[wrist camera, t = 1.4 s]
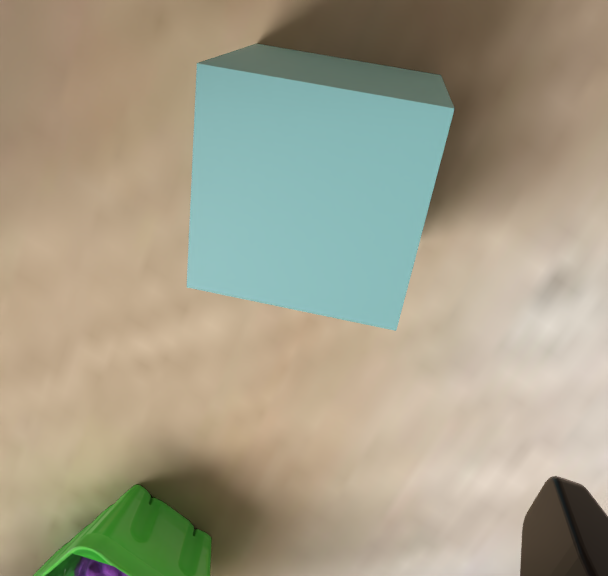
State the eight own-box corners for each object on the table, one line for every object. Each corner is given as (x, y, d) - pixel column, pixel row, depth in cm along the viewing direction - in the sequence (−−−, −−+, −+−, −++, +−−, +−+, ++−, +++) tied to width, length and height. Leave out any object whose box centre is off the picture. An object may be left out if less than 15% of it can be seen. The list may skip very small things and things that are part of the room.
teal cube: (241, 214, 21) (186, 287, 16) (257, 43, 18) (197, 63, 13) (399, 245, 21) (396, 330, 15) (440, 74, 18) (454, 108, 13)
